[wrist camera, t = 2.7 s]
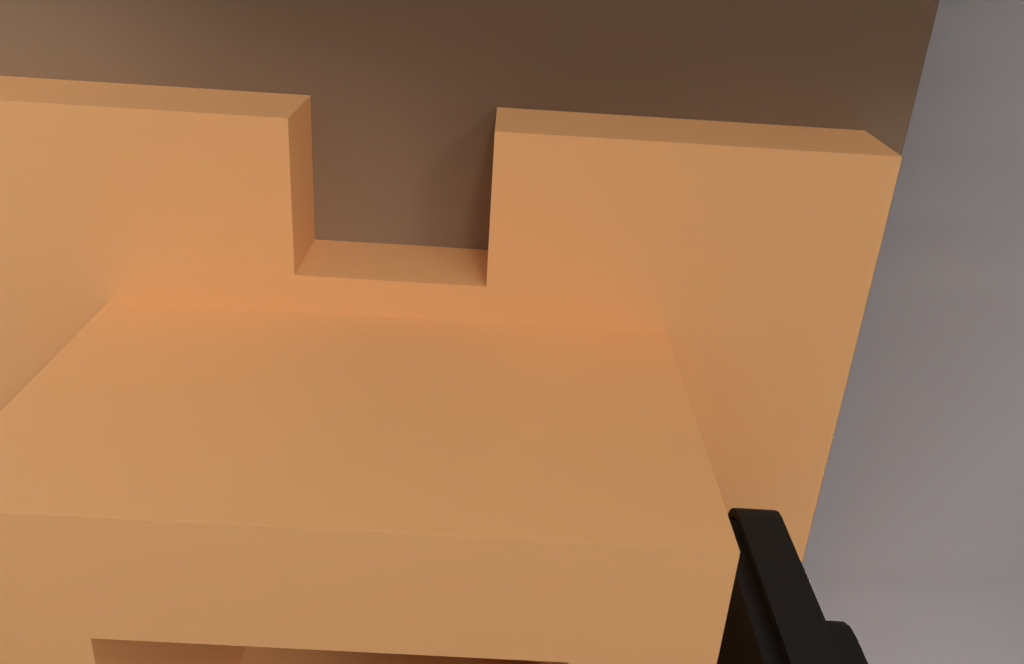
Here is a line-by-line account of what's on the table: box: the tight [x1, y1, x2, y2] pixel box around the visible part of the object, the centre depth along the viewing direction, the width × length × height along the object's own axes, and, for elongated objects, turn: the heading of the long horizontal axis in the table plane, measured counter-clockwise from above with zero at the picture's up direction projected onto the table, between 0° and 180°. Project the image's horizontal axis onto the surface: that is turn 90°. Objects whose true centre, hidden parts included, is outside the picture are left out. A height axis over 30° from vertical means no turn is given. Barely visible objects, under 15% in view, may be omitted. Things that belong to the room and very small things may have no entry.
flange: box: [0, 76, 902, 664], centre depth 11 cm, size 11×11×5 cm
